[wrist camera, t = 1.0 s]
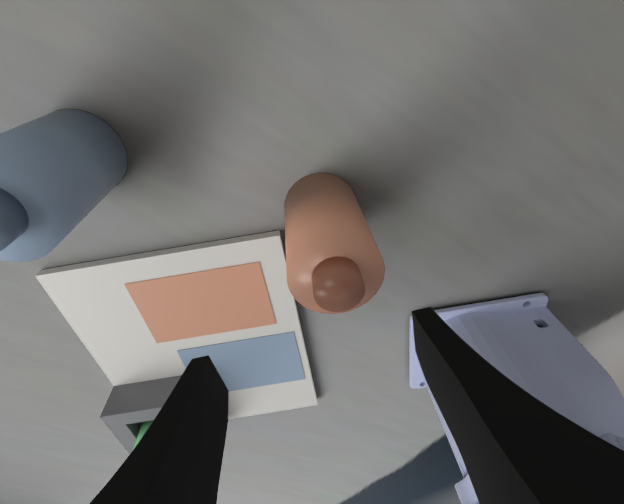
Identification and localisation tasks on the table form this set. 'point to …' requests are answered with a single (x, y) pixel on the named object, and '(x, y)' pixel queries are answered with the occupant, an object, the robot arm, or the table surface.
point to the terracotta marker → (329, 246)
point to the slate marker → (54, 179)
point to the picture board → (188, 326)
